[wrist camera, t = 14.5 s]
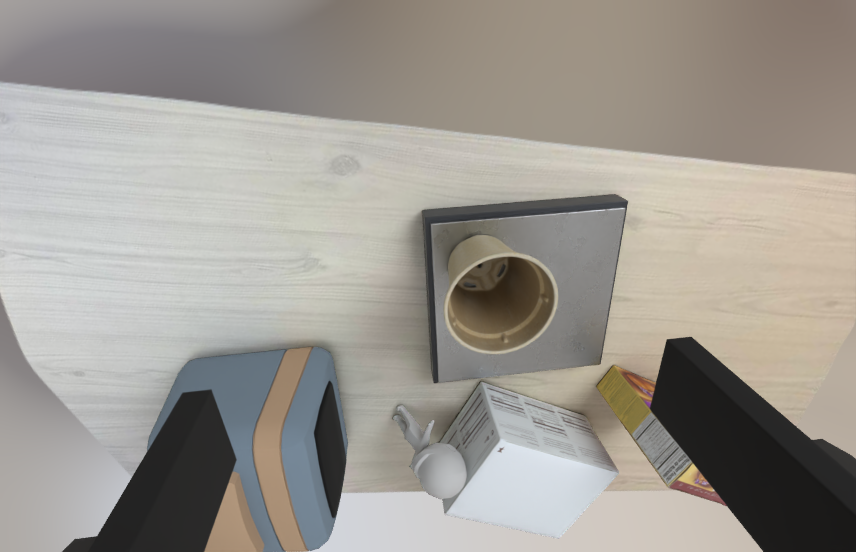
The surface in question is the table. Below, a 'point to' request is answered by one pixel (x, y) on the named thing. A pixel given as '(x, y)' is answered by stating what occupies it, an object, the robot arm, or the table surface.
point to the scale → (554, 247)
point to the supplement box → (525, 463)
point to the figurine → (433, 459)
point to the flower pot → (497, 296)
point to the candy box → (652, 432)
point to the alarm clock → (274, 446)
